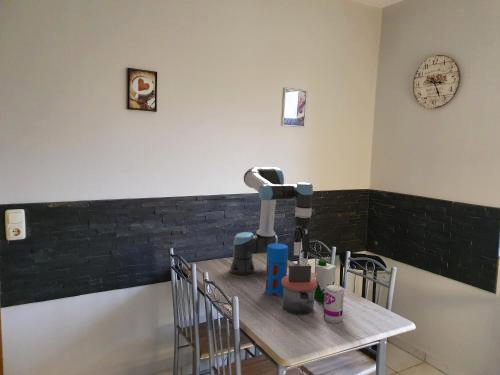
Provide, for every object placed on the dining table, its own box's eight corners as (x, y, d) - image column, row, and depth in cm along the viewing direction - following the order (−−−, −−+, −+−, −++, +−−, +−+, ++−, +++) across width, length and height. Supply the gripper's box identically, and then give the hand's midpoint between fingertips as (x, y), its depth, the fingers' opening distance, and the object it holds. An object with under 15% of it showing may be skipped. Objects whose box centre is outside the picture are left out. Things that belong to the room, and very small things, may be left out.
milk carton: (320, 294, 195) (322, 257, 192) (335, 299, 189) (338, 262, 186) (311, 299, 188) (313, 261, 186) (326, 304, 182) (329, 265, 180)
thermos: (284, 297, 190) (286, 249, 187) (263, 294, 192) (265, 247, 189) (286, 289, 200) (289, 244, 197) (267, 286, 203) (269, 242, 200)
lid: (277, 277, 183) (278, 259, 182) (310, 277, 186) (311, 259, 185) (286, 291, 167) (287, 271, 165) (322, 290, 169) (323, 270, 168)
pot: (277, 299, 187) (278, 276, 185) (307, 298, 189) (308, 276, 188) (287, 318, 166) (288, 293, 165) (320, 317, 168) (322, 292, 167)
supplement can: (332, 325, 162) (334, 292, 160) (319, 317, 169) (321, 285, 167) (345, 320, 166) (348, 289, 164) (332, 313, 173) (334, 282, 171)
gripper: (288, 210, 184) (286, 251, 187) (302, 222, 159) (299, 269, 162) (303, 210, 185) (300, 251, 188) (319, 222, 160) (315, 269, 163)
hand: (300, 259), depth 175 cm, fingers open, 13 cm apart
